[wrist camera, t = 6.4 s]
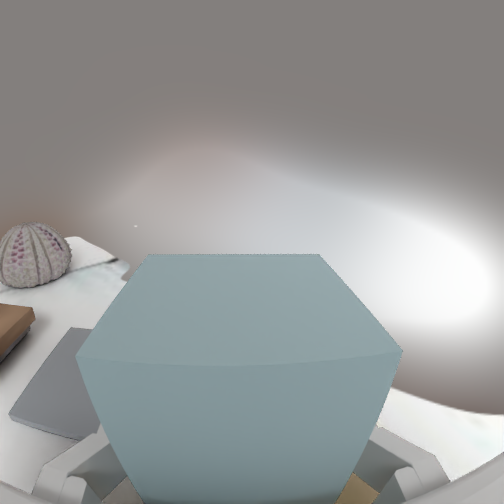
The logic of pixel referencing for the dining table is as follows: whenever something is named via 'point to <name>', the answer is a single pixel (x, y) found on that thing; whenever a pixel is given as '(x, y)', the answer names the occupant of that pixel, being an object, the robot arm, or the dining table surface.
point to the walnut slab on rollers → (13, 326)
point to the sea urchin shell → (32, 255)
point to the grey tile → (59, 393)
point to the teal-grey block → (238, 378)
